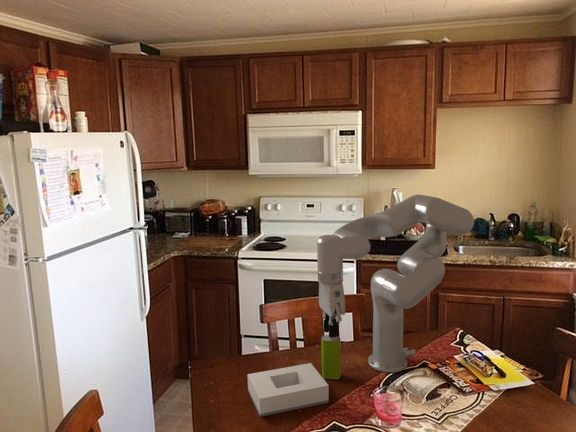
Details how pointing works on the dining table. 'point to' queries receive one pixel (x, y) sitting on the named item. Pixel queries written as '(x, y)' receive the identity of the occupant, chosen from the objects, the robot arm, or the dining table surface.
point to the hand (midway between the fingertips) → (331, 333)
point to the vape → (331, 356)
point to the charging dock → (287, 389)
